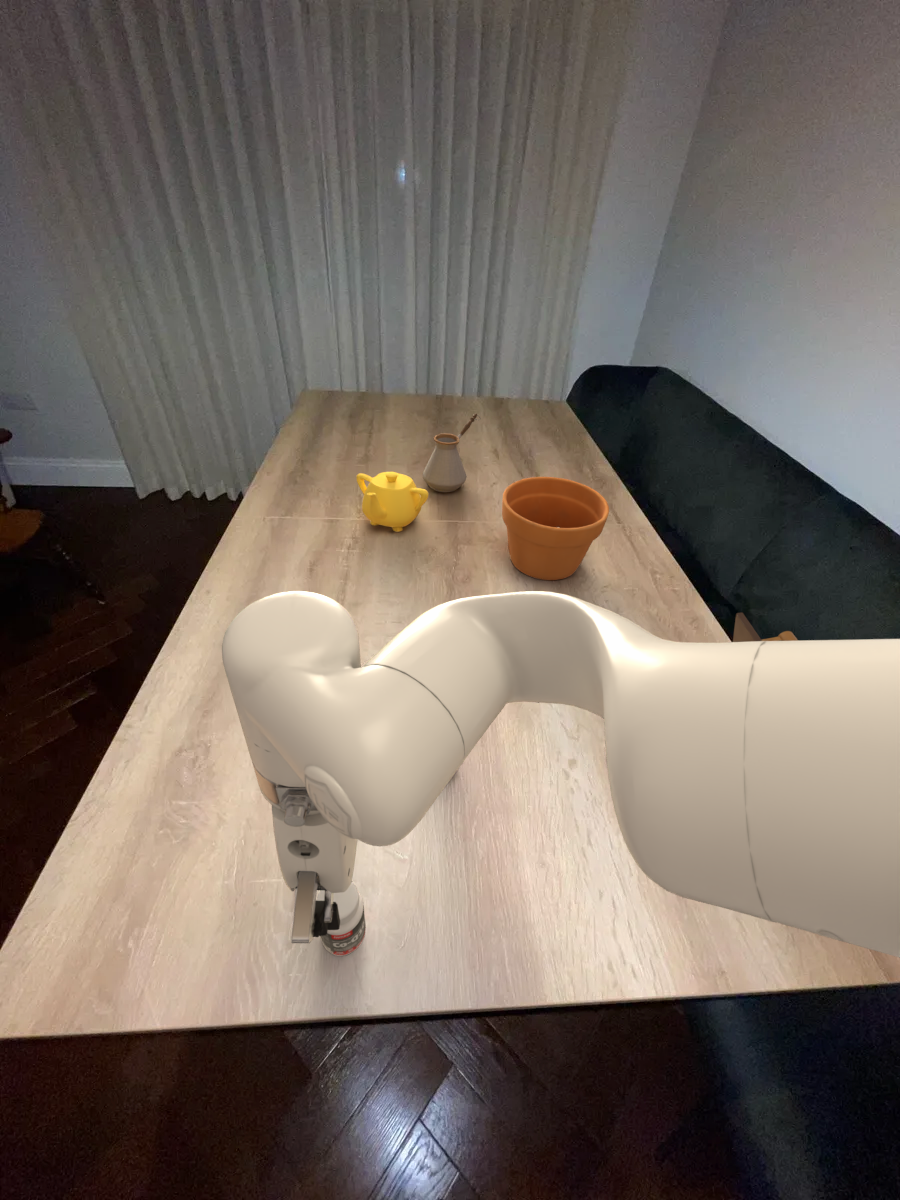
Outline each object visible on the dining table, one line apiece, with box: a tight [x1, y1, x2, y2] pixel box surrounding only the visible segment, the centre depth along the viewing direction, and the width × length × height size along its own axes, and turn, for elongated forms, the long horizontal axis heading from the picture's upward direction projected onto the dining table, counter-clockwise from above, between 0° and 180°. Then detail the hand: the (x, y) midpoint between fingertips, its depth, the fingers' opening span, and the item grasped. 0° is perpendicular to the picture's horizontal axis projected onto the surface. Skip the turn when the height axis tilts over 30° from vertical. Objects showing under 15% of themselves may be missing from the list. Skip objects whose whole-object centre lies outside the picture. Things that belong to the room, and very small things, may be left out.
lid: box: [732, 611, 799, 642], centre depth 68 cm, size 14×12×6 cm
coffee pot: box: [422, 413, 481, 493], centre depth 138 cm, size 21×12×15 cm, turn 148°
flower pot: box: [501, 476, 610, 581], centre depth 109 cm, size 21×21×15 cm
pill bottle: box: [316, 880, 367, 957], centre depth 54 cm, size 5×5×8 cm
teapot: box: [355, 471, 429, 533], centre depth 120 cm, size 14×14×12 cm
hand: (330, 865), depth 47 cm, fingers open, 9 cm apart
